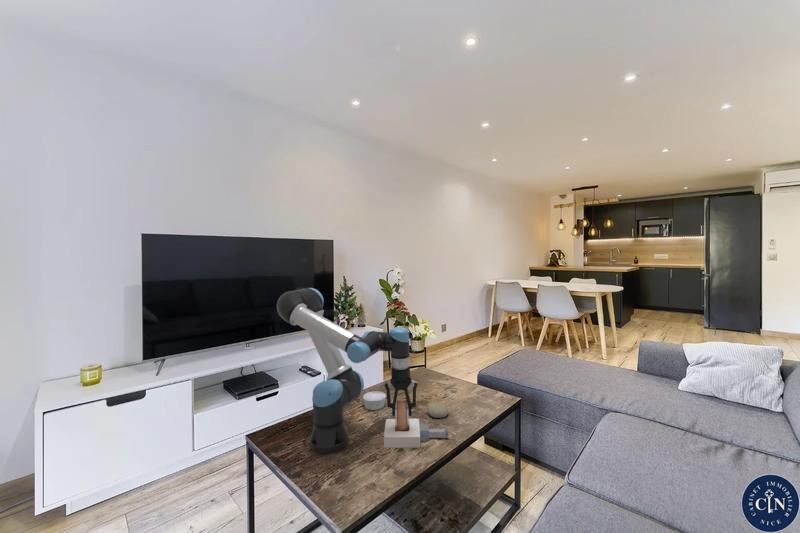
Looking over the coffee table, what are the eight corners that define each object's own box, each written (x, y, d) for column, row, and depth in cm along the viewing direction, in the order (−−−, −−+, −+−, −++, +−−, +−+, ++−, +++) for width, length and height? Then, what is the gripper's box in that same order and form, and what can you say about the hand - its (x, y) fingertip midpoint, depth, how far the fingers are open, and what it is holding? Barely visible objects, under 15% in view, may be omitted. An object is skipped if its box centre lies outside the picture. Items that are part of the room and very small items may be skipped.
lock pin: (423, 438, 136) (422, 431, 136) (422, 434, 139) (422, 427, 139) (448, 438, 136) (448, 431, 136) (447, 433, 139) (447, 427, 139)
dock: (383, 447, 131) (383, 437, 131) (386, 428, 145) (386, 419, 145) (420, 447, 131) (420, 436, 130) (419, 428, 145) (419, 418, 144)
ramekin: (386, 400, 172) (386, 390, 171) (385, 411, 161) (385, 400, 160) (364, 401, 172) (364, 391, 172) (361, 411, 161) (361, 401, 160)
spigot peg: (397, 433, 136) (396, 403, 135) (397, 427, 140) (396, 399, 139) (407, 432, 136) (406, 403, 135) (407, 427, 140) (406, 398, 139)
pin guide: (419, 441, 135) (419, 430, 135) (419, 433, 140) (419, 424, 140) (429, 440, 135) (428, 430, 135) (428, 433, 140) (428, 424, 140)
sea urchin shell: (449, 416, 151) (436, 402, 151) (437, 427, 152) (424, 414, 153) (450, 406, 160) (438, 394, 160) (438, 417, 161) (426, 404, 162)
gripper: (378, 370, 133) (380, 428, 134) (422, 369, 132) (423, 428, 134) (380, 363, 140) (382, 419, 142) (421, 363, 140) (422, 418, 141)
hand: (402, 423), depth 138 cm, fingers closed on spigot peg, 4 cm apart
